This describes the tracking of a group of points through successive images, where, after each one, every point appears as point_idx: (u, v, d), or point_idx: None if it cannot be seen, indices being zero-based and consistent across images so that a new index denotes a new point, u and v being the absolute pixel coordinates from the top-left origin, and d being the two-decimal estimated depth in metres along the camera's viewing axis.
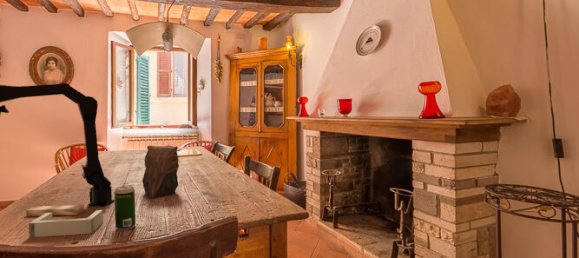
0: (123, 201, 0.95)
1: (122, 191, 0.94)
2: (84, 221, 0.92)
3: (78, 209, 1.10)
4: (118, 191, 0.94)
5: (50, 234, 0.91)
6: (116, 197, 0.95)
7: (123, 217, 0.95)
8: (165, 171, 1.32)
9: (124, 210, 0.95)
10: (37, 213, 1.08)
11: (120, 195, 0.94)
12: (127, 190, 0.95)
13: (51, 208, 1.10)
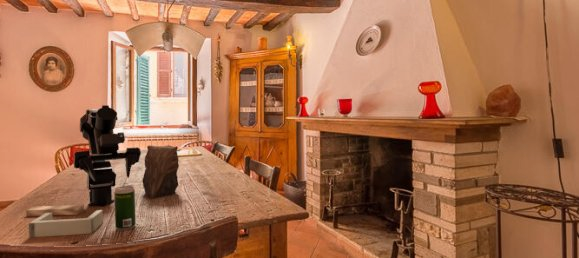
0: (123, 201, 0.95)
1: (122, 191, 0.94)
2: (84, 221, 0.92)
3: (78, 209, 1.10)
4: (118, 191, 0.94)
5: (50, 234, 0.91)
6: (116, 197, 0.95)
7: (123, 217, 0.95)
8: (165, 171, 1.32)
9: (124, 210, 0.95)
10: (37, 213, 1.08)
11: (120, 195, 0.94)
12: (127, 190, 0.95)
13: (51, 208, 1.10)
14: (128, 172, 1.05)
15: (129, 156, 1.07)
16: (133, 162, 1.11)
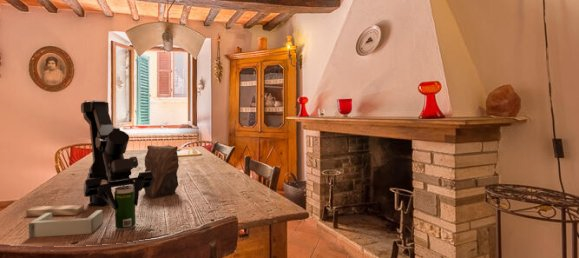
0: (123, 201, 0.95)
1: (122, 191, 0.94)
2: (84, 221, 0.92)
3: (78, 209, 1.10)
4: (118, 191, 0.94)
5: (50, 234, 0.91)
6: (116, 197, 0.95)
7: (123, 217, 0.95)
8: (165, 171, 1.32)
9: (124, 210, 0.95)
10: (37, 213, 1.08)
11: (120, 195, 0.94)
12: (127, 190, 0.95)
13: (51, 208, 1.10)
14: (136, 200, 0.98)
15: (136, 182, 1.00)
16: (140, 188, 1.04)
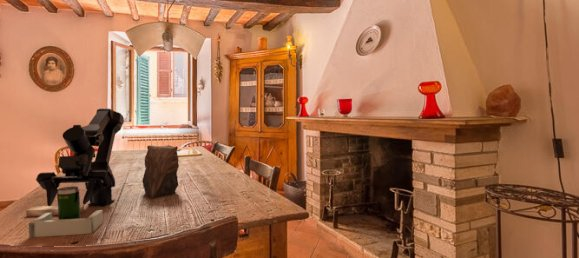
0: (61, 202, 0.94)
1: (60, 192, 0.94)
2: (84, 221, 0.92)
3: None
4: (58, 191, 0.94)
5: (50, 234, 0.91)
6: (57, 197, 0.95)
7: (61, 218, 0.94)
8: (165, 171, 1.32)
9: (62, 211, 0.94)
10: (37, 213, 1.08)
11: (58, 195, 0.94)
12: (65, 191, 0.94)
13: (51, 208, 1.10)
14: (84, 198, 0.96)
15: (90, 180, 0.98)
16: (101, 187, 1.01)
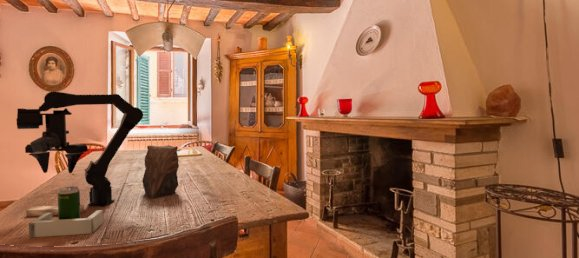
0: (61, 202, 0.94)
1: (60, 191, 0.94)
2: (84, 221, 0.92)
3: None
4: (58, 191, 0.94)
5: (50, 234, 0.91)
6: (58, 197, 0.95)
7: (61, 218, 0.94)
8: (165, 171, 1.32)
9: (62, 211, 0.94)
10: (37, 213, 1.08)
11: (59, 195, 0.94)
12: (65, 191, 0.94)
13: (51, 208, 1.10)
14: (69, 170, 1.13)
15: (67, 156, 1.11)
16: None
